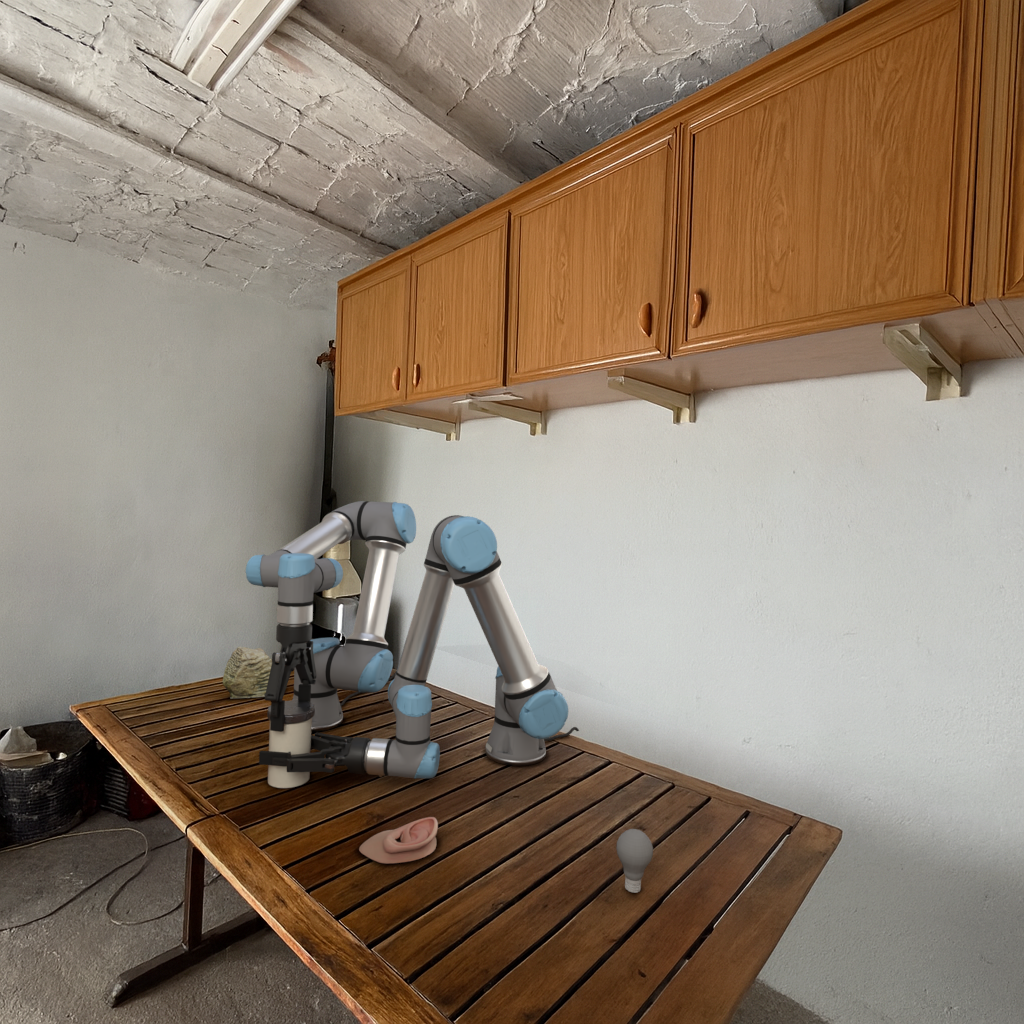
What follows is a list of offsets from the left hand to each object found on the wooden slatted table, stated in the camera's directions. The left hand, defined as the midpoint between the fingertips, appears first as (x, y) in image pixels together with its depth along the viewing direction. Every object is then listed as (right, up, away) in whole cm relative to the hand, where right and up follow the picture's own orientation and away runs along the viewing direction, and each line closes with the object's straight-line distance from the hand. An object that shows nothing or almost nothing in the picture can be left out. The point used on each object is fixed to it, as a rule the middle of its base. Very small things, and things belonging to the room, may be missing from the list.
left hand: (290, 721), depth 141 cm
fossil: (-31, -11, +57) cm, 66 cm away
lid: (0, +3, 0) cm, 3 cm away
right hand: (-5, -6, 0) cm, 8 cm away
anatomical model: (+29, -15, -25) cm, 41 cm away
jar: (-1, -13, 0) cm, 13 cm away
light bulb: (+69, -17, -35) cm, 80 cm away
